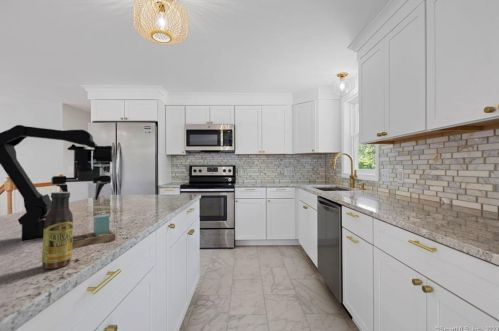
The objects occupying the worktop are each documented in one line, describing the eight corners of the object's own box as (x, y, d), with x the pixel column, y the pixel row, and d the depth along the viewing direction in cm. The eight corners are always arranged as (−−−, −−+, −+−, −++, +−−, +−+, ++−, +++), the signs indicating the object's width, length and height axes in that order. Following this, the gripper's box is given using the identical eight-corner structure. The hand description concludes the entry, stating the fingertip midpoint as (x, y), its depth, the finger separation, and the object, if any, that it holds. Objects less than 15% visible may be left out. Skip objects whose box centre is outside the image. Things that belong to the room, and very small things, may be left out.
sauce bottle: (46, 272, 58) (47, 194, 58) (37, 267, 62) (38, 192, 62) (77, 263, 64) (77, 191, 64) (67, 258, 67) (68, 190, 67)
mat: (84, 238, 85) (84, 237, 85) (81, 234, 90) (81, 233, 90) (106, 235, 90) (106, 234, 90) (101, 231, 95) (101, 230, 95)
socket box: (65, 250, 73) (66, 241, 73) (62, 244, 79) (63, 236, 79) (115, 241, 83) (115, 233, 83) (109, 236, 89) (109, 228, 89)
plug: (96, 243, 81) (96, 217, 81) (93, 240, 84) (93, 215, 84) (109, 240, 84) (109, 215, 84) (106, 238, 86) (106, 214, 86)
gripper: (54, 161, 80) (53, 206, 80) (114, 162, 93) (114, 201, 93) (51, 161, 88) (51, 202, 88) (107, 162, 101) (107, 198, 101)
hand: (82, 201), depth 92 cm, fingers open, 9 cm apart
